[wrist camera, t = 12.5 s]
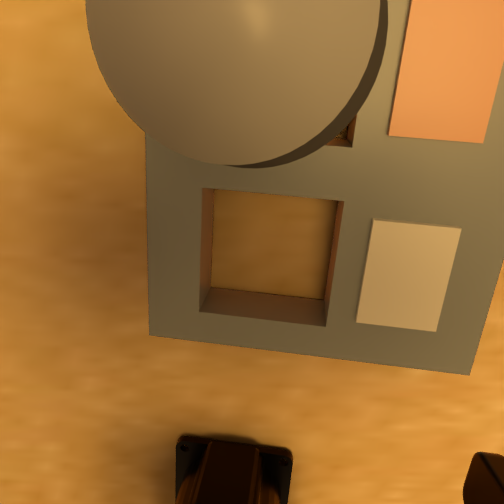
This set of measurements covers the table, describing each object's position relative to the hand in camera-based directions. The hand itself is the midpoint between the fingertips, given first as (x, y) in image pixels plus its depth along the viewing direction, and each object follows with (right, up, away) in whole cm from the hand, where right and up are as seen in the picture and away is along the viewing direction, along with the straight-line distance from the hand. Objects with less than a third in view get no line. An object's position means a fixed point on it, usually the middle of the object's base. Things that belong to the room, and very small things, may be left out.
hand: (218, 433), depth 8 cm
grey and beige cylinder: (+2, +11, +10) cm, 15 cm away
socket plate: (+4, +7, +11) cm, 13 cm away
